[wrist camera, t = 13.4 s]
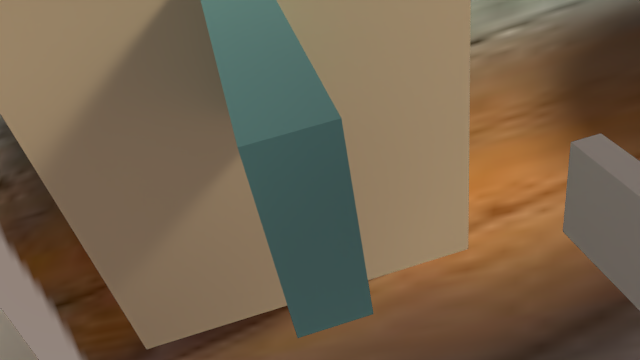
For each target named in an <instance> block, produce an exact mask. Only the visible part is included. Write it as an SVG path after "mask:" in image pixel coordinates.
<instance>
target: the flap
mask: <svg viewBox="0 0 640 360" xmlns="http://www.w3.org/2000/svg"><path fill="white" fill-rule="evenodd" d="M470 3H471V0H0V114H1V115H2V117H3V119H4V120H5V122H6V124H7V125H8V127H9V128H10V130H11V132H12V133H13V135H14V136H15V138H16V140H17V141H18V143H19V144H20V146H21V148H22V149H23V151H24V153H25V154H26V156H27V157H28V159H29V161H30V162H31V164H32V165H33V167H34V169H35V170H36V172H37V174H38V175H39V177H40V178H41V180H42V182H43V183H44V185H45V186H46V188H47V190H48V191H49V193H50V194H51V196H52V198H53V199H54V201H55V203H56V204H57V206H58V207H59V209H60V211H61V212H62V214H63V215H64V217H65V219H66V220H67V222H68V223H69V225H70V227H71V228H72V230H73V232H74V233H75V235H76V236H77V238H78V240H79V241H80V243H81V244H82V246H83V248H84V249H85V251H86V253H87V254H88V256H89V257H90V259H91V261H92V262H93V264H94V265H95V267H96V269H97V270H98V272H99V273H100V275H101V277H102V278H103V280H104V282H105V283H106V285H107V286H108V288H109V290H110V291H111V293H112V294H113V296H114V298H115V299H116V301H117V303H118V304H119V306H120V307H121V309H122V311H123V312H124V314H125V315H126V317H127V319H128V320H129V322H130V323H131V325H132V327H133V328H134V330H135V332H136V333H137V335H138V336H139V338H140V340H141V341H142V343H143V344H144V346H145V348H146V349H150V348H153V347H156V346H159V345H162V344H166V343H169V342H172V341H175V340H178V339H182V338H185V337H188V336H191V335H194V334H198V333H201V332H204V331H207V330H210V329H214V328H217V327H220V326H223V325H226V324H230V323H233V322H236V321H239V320H242V319H246V318H249V317H252V316H255V315H258V314H262V313H265V312H268V311H271V310H274V309H277V308H281V307H284V306H288V309H289V312H290V315H291V318H292V322H293V325H294V328H295V331H296V334H297V337H298V338H300V337H303V336H306V335H309V334H312V333H315V332H318V331H322V330H325V329H328V328H331V327H334V326H337V325H340V324H343V323H347V322H350V321H353V320H356V319H359V318H362V317H365V316H369V315H372V314H373V309H372V303H371V297H370V290H369V284H368V280H370V279H373V278H377V277H380V276H383V275H386V274H389V273H392V272H396V271H399V270H402V269H405V268H408V267H412V266H415V265H418V264H421V263H424V262H428V261H431V260H434V259H437V258H440V257H444V256H447V255H450V254H453V253H456V252H460V251H463V250H466V249H468V206H469V104H470Z"/></svg>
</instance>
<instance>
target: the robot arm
mask: <svg viewBox="0 0 640 360" xmlns="http://www.w3.org/2000/svg"><path fill="white" fill-rule="evenodd" d="M563 232H564V233H565V234H566V235H567V236H568V237H569V238H570V239H571V240H572V241H573V242H574V243H575V245H576V246H577V247H578V248H579V249H580V250H581V251H582V252H583V253H584V254H585V255H586V256H587V257H588V258H589V259H590V260H591V261H592V262H593V263H594V264H595V265H596V266H597V267H598V268H599V269H600V270H601V271H602V272H603V273H604V274H605V275H606V277H607V278H608V279H609V280H610V281H611V282H612V283H613V284H614V285H615V286H616V287H617V288H618V289H619V290H620V291H621V292H622V293H623V294H624V295H625V296H626V297H627V298H628V299H629V300H630V301H631V302H632V303H633V304H634V305H635V306H636V307H637V309H638V310H639V311H640V161H639V160H637V159H636V158H635V157H633V156H632V155H630V154H629V153H628V152H626V151H625V150H623V149H622V148H621V147H619V146H618V145H616V144H615V143H614V142H612V141H611V140H609V139H608V138H607V137H605V136H604V135H603V134H601V133H600V134H597V135H593V136H590V137H587V138H583V139H580V140H576V141H573V142H571V147H570V158H569V169H568V180H567V191H566V202H565V213H564V224H563ZM0 360H39V359H38V358H37V357H36V355H35V354H34V353H33V352H32V350H31V348H30V347H29V346H28V345H27V343H26V342H25V340H24V339H23V338H22V336H21V335H20V333H19V332H18V331H17V329H16V328H15V327H14V325H13V324H12V323H11V321H10V320H9V318H8V317H7V316H6V314H5V313H4V312H3V310H2V309H0Z"/></svg>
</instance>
